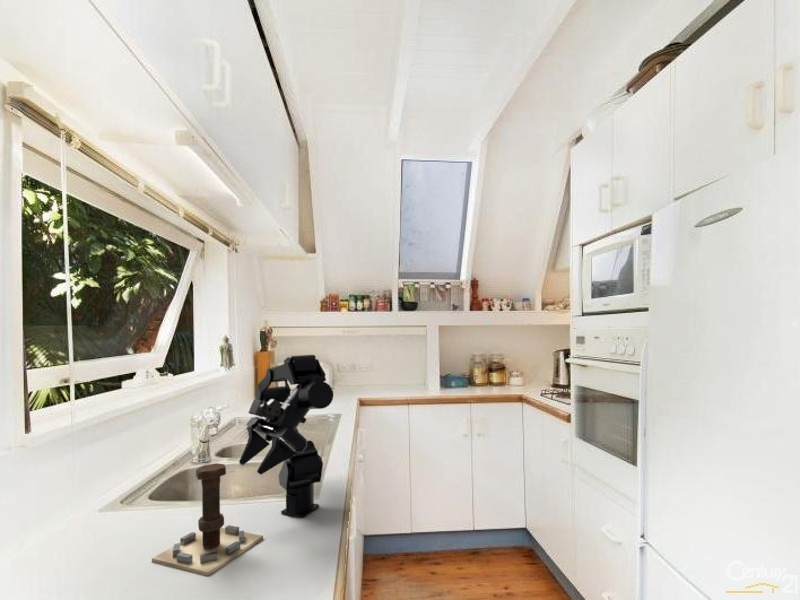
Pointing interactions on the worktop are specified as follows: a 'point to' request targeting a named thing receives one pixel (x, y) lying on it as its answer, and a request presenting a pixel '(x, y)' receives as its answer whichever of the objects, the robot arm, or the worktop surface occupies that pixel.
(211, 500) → the bolt
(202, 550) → the tan flat square board
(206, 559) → the castellated ring
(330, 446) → the worktop surface
